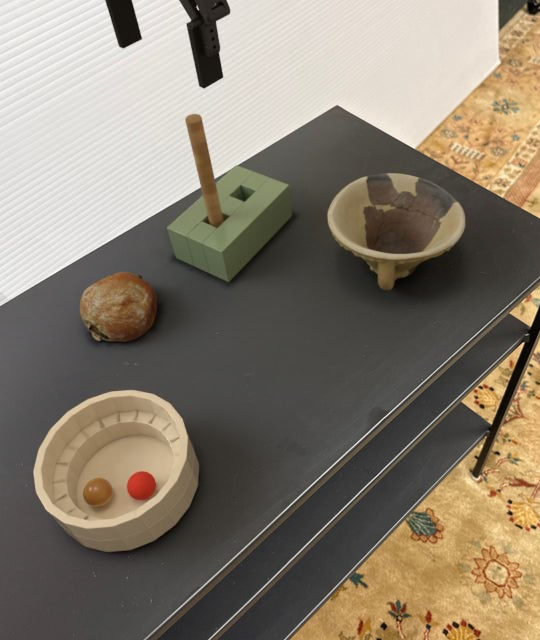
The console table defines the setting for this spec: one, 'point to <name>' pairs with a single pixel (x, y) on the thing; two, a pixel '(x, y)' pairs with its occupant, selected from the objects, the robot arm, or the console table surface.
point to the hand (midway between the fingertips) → (169, 62)
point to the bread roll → (118, 307)
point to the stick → (204, 168)
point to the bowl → (395, 223)
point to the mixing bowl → (117, 469)
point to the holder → (232, 223)
